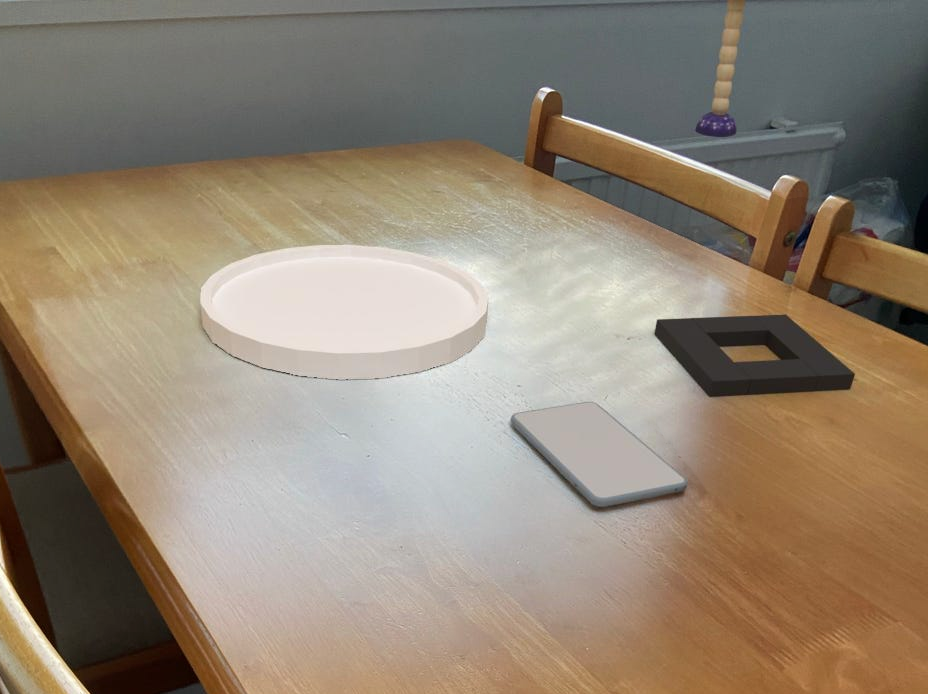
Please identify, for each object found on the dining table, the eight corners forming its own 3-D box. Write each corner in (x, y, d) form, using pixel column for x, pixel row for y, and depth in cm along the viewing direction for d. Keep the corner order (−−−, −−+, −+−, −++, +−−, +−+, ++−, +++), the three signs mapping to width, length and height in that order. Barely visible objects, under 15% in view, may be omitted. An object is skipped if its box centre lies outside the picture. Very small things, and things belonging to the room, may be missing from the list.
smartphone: (594, 399, 86) (693, 482, 76) (593, 409, 87) (690, 493, 76) (507, 413, 84) (596, 501, 73) (506, 423, 84) (594, 513, 74)
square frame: (778, 343, 100) (786, 314, 98) (845, 405, 90) (855, 373, 88) (651, 349, 97) (656, 319, 96) (705, 413, 87) (713, 381, 86)
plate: (143, 311, 99) (140, 286, 97) (353, 249, 115) (353, 227, 114) (336, 410, 85) (336, 383, 83) (544, 323, 101) (547, 299, 99)
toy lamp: (689, 135, 105) (723, -59, 94) (689, 124, 108) (722, -64, 98) (736, 139, 104) (776, -56, 94) (734, 128, 108) (772, -61, 97)
